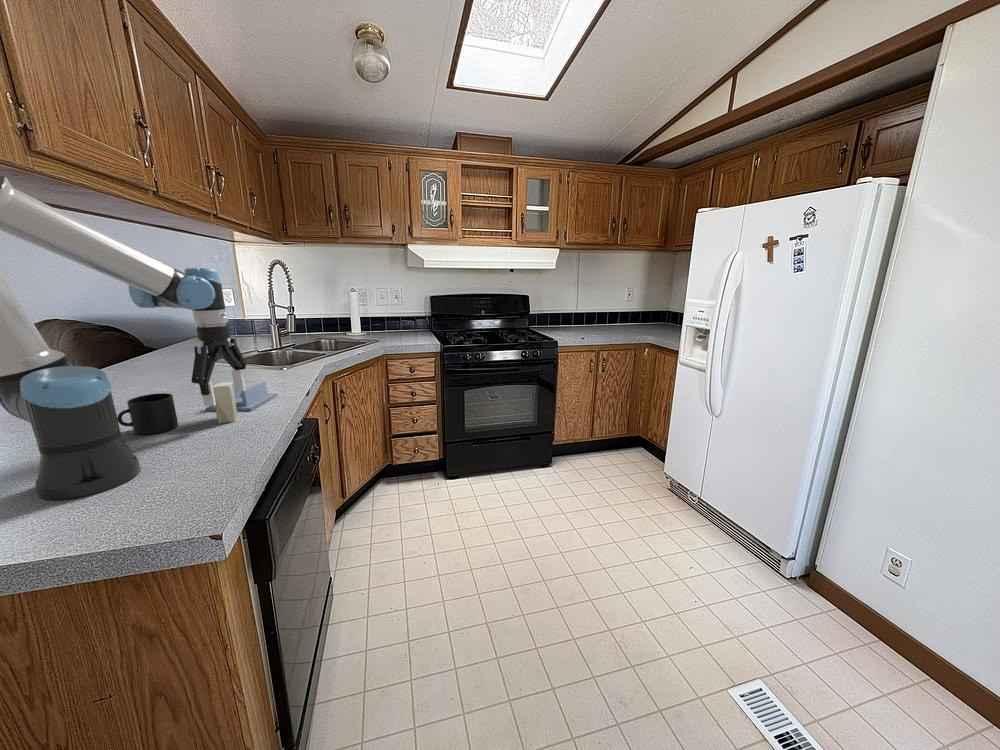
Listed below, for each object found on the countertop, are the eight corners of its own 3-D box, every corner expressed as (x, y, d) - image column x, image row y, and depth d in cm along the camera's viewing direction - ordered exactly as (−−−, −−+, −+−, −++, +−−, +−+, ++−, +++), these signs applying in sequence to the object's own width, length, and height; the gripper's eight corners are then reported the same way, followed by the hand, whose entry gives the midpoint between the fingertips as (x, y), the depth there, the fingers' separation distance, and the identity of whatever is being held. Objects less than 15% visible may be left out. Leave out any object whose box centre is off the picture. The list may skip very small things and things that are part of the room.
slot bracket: (251, 411, 126) (248, 392, 125) (206, 411, 126) (202, 392, 124) (277, 396, 142) (275, 379, 140) (237, 396, 141) (235, 379, 140)
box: (221, 418, 120) (215, 382, 117) (238, 416, 121) (232, 381, 119) (217, 424, 115) (211, 387, 112) (235, 422, 117) (229, 385, 114)
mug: (119, 432, 109) (111, 400, 107) (174, 420, 118) (168, 391, 115) (123, 441, 103) (115, 408, 101) (181, 428, 111) (175, 397, 109)
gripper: (193, 331, 99) (210, 412, 105) (252, 319, 124) (263, 385, 129) (163, 332, 99) (181, 412, 105) (227, 319, 123) (239, 385, 129)
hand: (226, 397), depth 117 cm, fingers open, 13 cm apart
